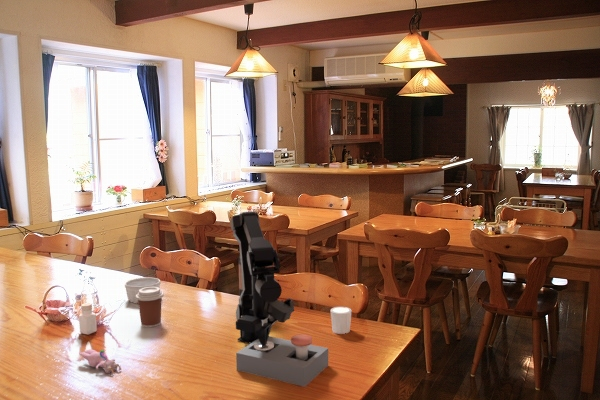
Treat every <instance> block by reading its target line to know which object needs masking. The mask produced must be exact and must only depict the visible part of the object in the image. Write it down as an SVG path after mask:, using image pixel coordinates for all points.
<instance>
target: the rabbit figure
mask: <svg viewBox="0 0 600 400" xmlns="http://www.w3.org/2000/svg"><path fill="white" fill-rule="evenodd" d="M79 355H80V356H81V357H82V358H83V359H84V360H86V361H87V363H88V365H89V366H90V367H92V368H95V369H96V370H98V369H99V367H101V368H102V369H104V372H105V373H106V374H110V373H111V375H112V374H115V372H114V371H113V370H115V371H116V370H117V369H118V368H119V369H118V371H122V367H121V365H120V364H119V363H117V362H115V361H116V359H115V358H114V359H109V358H108V355H107V354H106V353H105V350H104V349H101V350H100V351H97V350H95V349H85V350H84V351H81V352H79Z"/></svg>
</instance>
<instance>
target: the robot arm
mask: <svg viewBox="0 0 600 400" xmlns="http://www.w3.org/2000/svg"><path fill="white" fill-rule="evenodd" d="M229 224H230V230H231V231H232V236H233V238H234V239H235V240H236V241H237V243H238V244H239V245H238V247H239V256H240V260H241V271H242V283H243V291H242V293H241V295H240V294H239V298H238V304H237V307H236V310H235V311H236V312H235V318H236V319H235V320H236V321H235V330H237V331H239V334H240V336H239V337H238V338H237V341H238V342H243V343H246V344H247V343H248V344H251V343H252V342H254V341H255V340H257V339H259V341H260V343H261V345H264V346H265V345H266V344H267V340H268V337H269V336H270V333H271V330H272V327H273V325H274V324H275V323H276V322H279V323H281V324H283V323H285V322H286V321H288V320H290V319H291V316H292V313H294V311H295V304H294V303H295V302H294V299H292V298H286V299H285V300H279V298H280V297H281V295H282V289H283V288H282V285H281V284H280V283H279V282H278V281H277V279H275V274H279V273H280V269H281V263H280V258H279V254H278V252H277V250H276V248H274V246H273V244H272V242H271V241H270V240H267V239H266V238H265V236H264V233H263V230H262V228H261V225H260V214H258V212H257V211H243V212H240V213H239V214H235V215H233V216H232V217H231V218H230V222H229Z"/></svg>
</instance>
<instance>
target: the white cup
mask: <svg viewBox="0 0 600 400" xmlns="http://www.w3.org/2000/svg"><path fill="white" fill-rule="evenodd" d="M329 310H330V320H331V328H332V332H333V334H334V333H335V334H338V335H343V334H344V335H346V334H348V333H350V332H351V323H352V321H351V319H352V309H351V308H350V307H346V306H334V307H332V308H331V309H329ZM345 333H346V334H345Z"/></svg>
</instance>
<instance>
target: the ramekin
mask: <svg viewBox="0 0 600 400" xmlns="http://www.w3.org/2000/svg"><path fill="white" fill-rule="evenodd" d="M161 283H162V282H161V280H160V279H159V278H157V277H148V276H147V277H137V278H133V279H130V280H127V281H125V283H124V288H125V291H126V296H127V299H128V300H129V302H130V303H132V304H133V303H134V304H138V300H137V299H136V295H137V294H138V293H139V292H138V291H139V290H140V289H142V288H145V287H158V288H160V289H161Z"/></svg>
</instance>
